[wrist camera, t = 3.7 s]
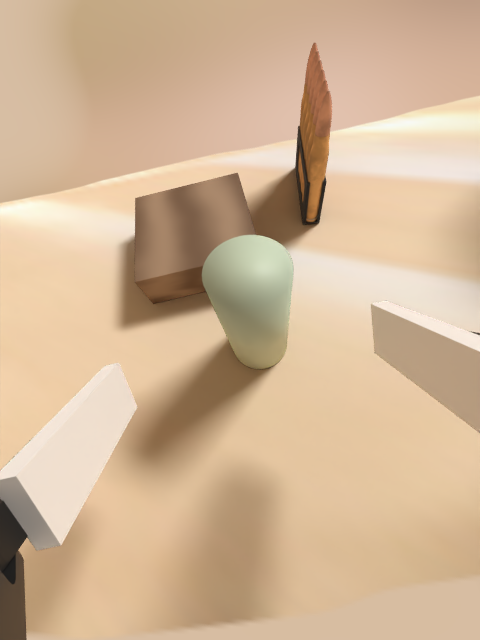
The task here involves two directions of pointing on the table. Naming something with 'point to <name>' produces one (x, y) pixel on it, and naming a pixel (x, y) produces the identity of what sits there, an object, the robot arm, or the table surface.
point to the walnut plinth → (185, 234)
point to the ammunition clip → (313, 140)
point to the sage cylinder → (251, 296)
